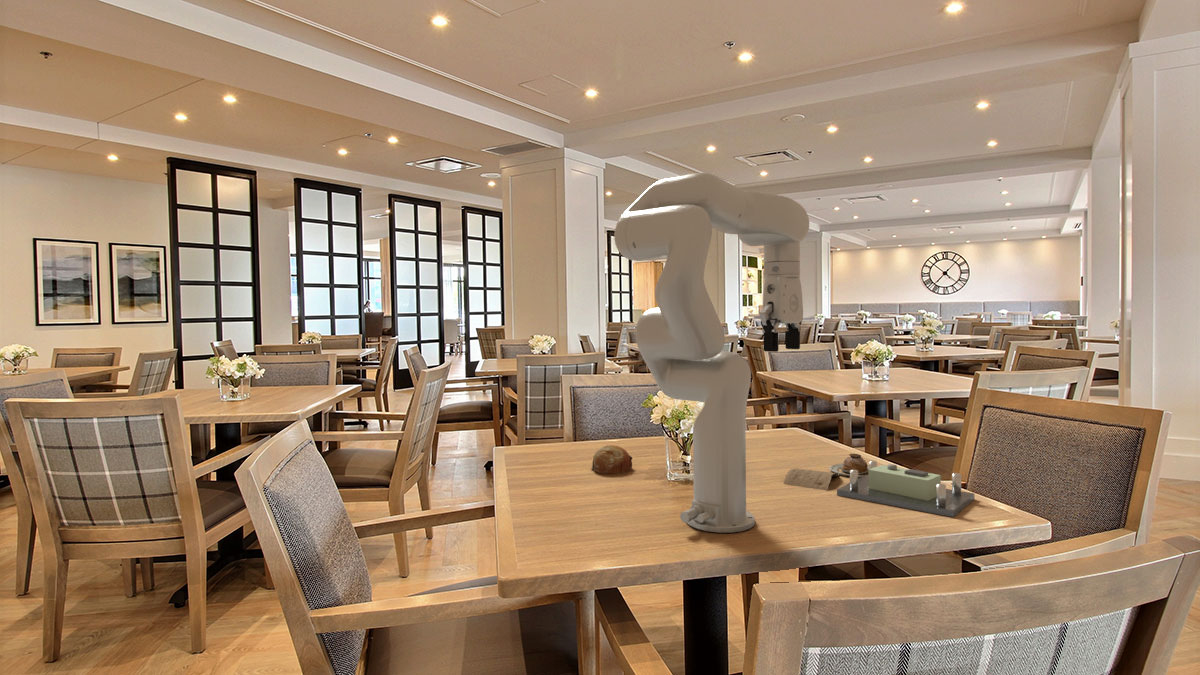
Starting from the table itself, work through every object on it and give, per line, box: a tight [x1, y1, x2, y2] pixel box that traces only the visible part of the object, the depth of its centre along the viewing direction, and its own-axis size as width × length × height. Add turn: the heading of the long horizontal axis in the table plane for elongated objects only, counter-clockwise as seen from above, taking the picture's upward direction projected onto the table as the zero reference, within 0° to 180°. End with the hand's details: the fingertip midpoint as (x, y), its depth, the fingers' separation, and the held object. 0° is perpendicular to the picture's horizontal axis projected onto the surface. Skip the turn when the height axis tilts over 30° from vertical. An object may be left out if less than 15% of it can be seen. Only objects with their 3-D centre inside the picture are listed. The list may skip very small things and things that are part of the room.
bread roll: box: [590, 444, 633, 475], centre depth 157 cm, size 10×10×8 cm
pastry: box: [829, 453, 869, 479], centre depth 150 cm, size 12×12×5 cm
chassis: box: [836, 460, 975, 518], centre depth 130 cm, size 15×22×5 cm
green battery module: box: [867, 463, 942, 501], centre depth 130 cm, size 6×12×5 cm, turn 40°
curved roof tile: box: [783, 467, 841, 491], centre depth 144 cm, size 14×10×3 cm
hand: (782, 350), depth 137 cm, fingers open, 9 cm apart
